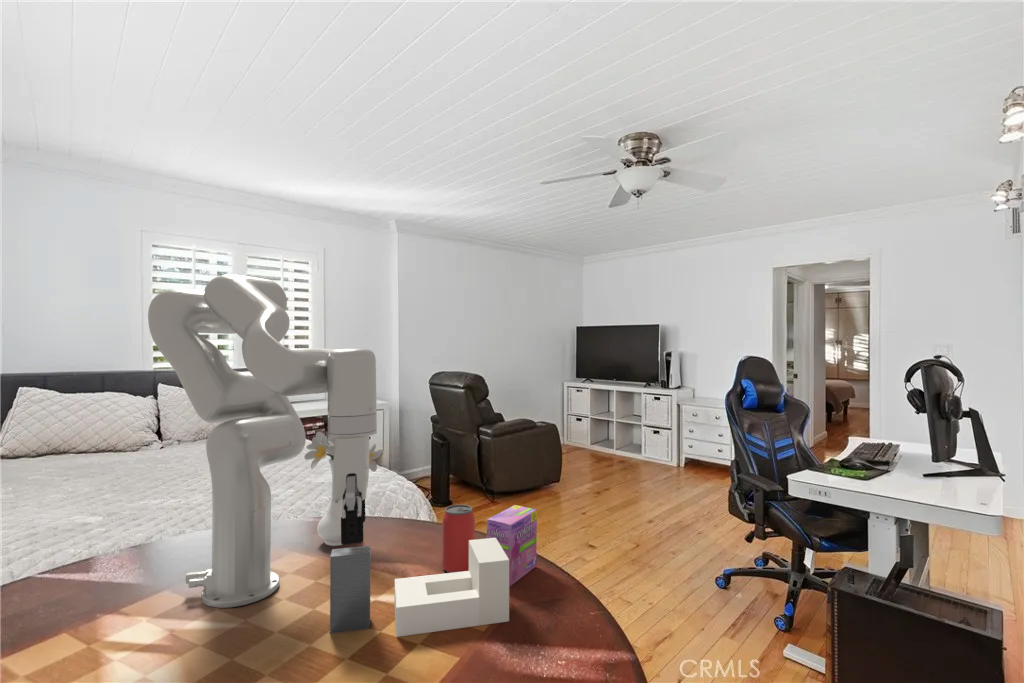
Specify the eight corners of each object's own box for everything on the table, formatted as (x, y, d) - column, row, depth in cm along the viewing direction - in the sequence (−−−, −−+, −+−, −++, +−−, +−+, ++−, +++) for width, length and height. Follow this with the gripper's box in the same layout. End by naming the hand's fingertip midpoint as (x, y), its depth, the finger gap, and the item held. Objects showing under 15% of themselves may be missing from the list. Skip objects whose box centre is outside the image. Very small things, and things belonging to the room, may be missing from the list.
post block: (396, 636, 78) (396, 571, 78) (394, 605, 88) (394, 547, 88) (509, 621, 82) (509, 559, 83) (495, 592, 92) (495, 537, 92)
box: (510, 587, 94) (510, 524, 94) (485, 580, 97) (485, 518, 97) (537, 567, 103) (537, 509, 103) (513, 560, 106) (514, 504, 106)
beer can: (473, 575, 99) (473, 514, 99) (439, 575, 99) (440, 513, 99) (476, 561, 106) (476, 503, 106) (444, 560, 106) (445, 503, 106)
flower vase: (366, 554, 109) (367, 438, 109) (288, 549, 112) (289, 436, 112) (391, 533, 122) (391, 429, 122) (320, 528, 125) (321, 427, 125)
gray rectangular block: (329, 633, 79) (330, 556, 79) (331, 623, 82) (332, 549, 82) (369, 628, 80) (370, 552, 80) (370, 618, 83) (370, 545, 83)
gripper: (333, 420, 89) (334, 518, 88) (321, 434, 72) (323, 555, 72) (377, 417, 91) (378, 513, 90) (376, 431, 74) (377, 549, 74)
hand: (354, 532), depth 81 cm, fingers open, 9 cm apart
